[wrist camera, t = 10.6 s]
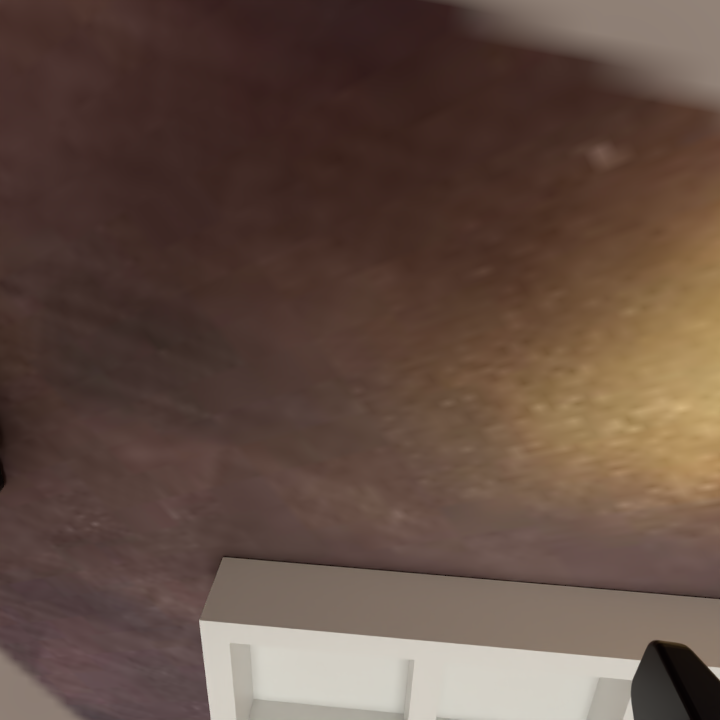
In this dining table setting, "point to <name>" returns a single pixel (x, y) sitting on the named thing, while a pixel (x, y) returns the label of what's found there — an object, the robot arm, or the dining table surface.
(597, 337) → the dining table surface
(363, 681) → the condiment rack
